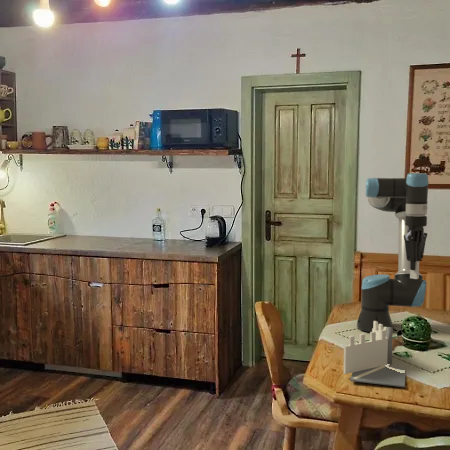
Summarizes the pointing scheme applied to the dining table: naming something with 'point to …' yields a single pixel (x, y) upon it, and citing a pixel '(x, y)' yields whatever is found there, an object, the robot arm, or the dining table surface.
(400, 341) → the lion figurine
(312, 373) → the dining table surface
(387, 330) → the fixed fence section
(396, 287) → the robot arm
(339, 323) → the dining table surface
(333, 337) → the dining table surface
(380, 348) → the panel
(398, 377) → the card
